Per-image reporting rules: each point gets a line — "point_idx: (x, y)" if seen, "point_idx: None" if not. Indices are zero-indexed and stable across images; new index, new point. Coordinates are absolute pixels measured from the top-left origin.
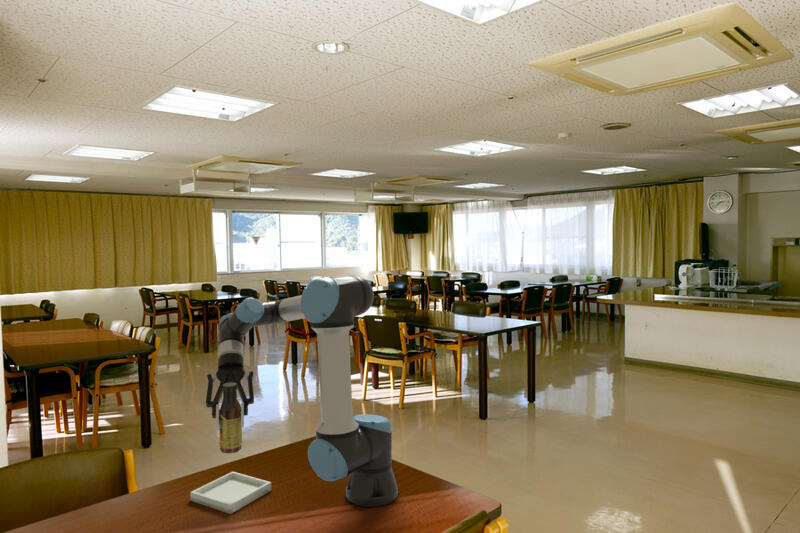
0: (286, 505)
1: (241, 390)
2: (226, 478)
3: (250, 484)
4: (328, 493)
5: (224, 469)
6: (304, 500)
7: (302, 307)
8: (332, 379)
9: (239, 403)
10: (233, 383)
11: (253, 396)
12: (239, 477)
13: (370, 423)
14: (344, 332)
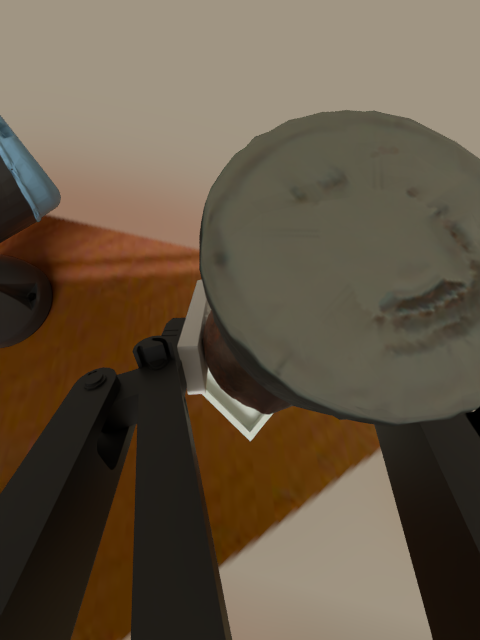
0: (154, 301)
1: (168, 478)
2: (260, 416)
3: (212, 385)
4: (77, 326)
5: (272, 499)
6: (122, 311)
7: None
8: None
9: (208, 330)
10: (294, 274)
11: (69, 394)
12: (234, 416)
13: None
14: None
